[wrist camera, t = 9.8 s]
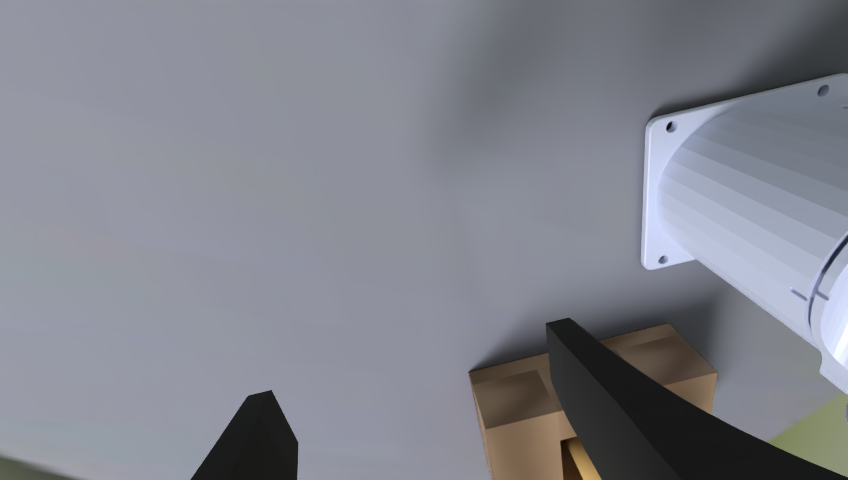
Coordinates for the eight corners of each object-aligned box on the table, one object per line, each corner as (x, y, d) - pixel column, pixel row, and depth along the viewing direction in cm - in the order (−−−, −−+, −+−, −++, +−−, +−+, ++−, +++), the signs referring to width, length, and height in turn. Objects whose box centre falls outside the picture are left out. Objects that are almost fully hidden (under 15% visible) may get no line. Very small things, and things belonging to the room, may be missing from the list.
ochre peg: (608, 393, 26) (697, 532, 19) (598, 428, 28) (678, 570, 21) (559, 398, 26) (632, 541, 19) (552, 433, 28) (618, 579, 20)
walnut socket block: (669, 323, 26) (717, 372, 22) (661, 426, 30) (701, 481, 27) (468, 372, 26) (485, 429, 22) (488, 469, 30) (505, 530, 26)
